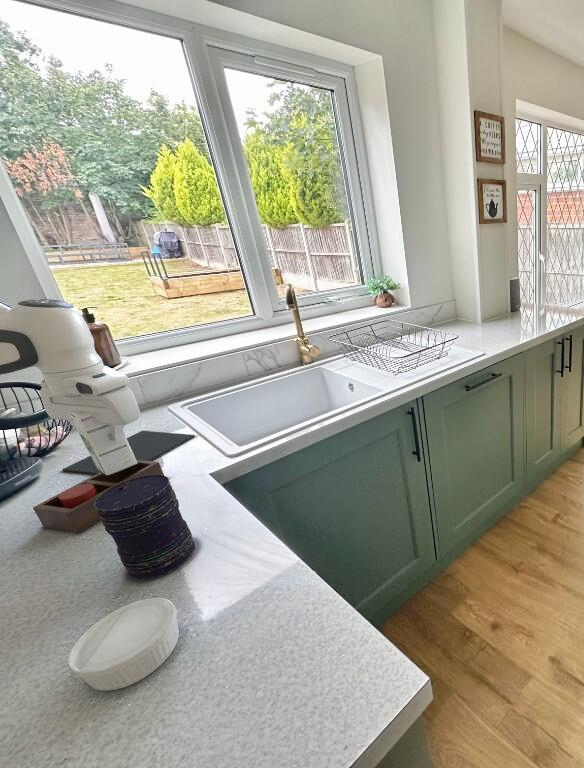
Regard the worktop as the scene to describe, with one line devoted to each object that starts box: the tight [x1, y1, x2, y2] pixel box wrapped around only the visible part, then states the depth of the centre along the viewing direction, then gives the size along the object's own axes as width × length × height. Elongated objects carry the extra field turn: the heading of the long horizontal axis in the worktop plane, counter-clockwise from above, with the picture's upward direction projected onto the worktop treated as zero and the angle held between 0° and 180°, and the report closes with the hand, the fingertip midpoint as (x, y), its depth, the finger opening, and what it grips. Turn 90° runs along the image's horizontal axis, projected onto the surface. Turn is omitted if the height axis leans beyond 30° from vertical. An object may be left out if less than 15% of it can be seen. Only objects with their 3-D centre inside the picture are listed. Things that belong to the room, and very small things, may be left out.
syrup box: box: [69, 412, 137, 475], centre depth 90 cm, size 6×6×14 cm
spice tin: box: [59, 484, 98, 509], centre depth 86 cm, size 5×5×6 cm
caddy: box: [32, 460, 165, 534], centre depth 90 cm, size 10×18×5 cm, turn 169°
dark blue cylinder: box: [94, 475, 196, 581], centre depth 72 cm, size 10×10×15 cm
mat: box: [61, 430, 195, 476], centre depth 110 cm, size 18×20×1 cm
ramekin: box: [67, 597, 180, 692], centre depth 57 cm, size 11×11×5 cm
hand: (104, 438), depth 90 cm, fingers closed on syrup box, 6 cm apart
